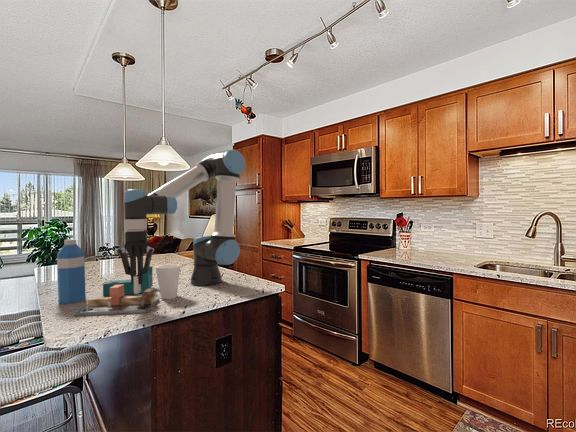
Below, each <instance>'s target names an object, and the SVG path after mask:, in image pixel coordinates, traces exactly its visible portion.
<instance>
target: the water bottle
mask: <svg viewBox="0 0 576 432" xmlns="http://www.w3.org/2000/svg"><path fill="white" fill-rule="evenodd" d="M63 241H64V243H63V246H62V247H61V248H60V250H59V251H58V252H57V254H56V263H57V292H58V293H57V295H58V299H57V301H58V303H59V304H64V305H65V304H73V303H79V302H82V301H84V300H86V299H87V298H86V294H87V293H86V271H85V269H86V267H85V266H86V265H85V263H86V262H85V251H84V250H83V249H82V248H81V247H80V246H79V245H78V243H77V239H75V238H71V239H64V240H63Z"/></svg>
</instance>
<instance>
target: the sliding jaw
mask: <svg viewBox="0 0 576 432" xmlns="http://www.w3.org/2000/svg"><path fill="white" fill-rule="evenodd" d="M108 297H109V298H107V301H108V308H111V305H119V304H120V297H125V294H124V284H121V285H114V286H112V287H110V295H109V296H108Z"/></svg>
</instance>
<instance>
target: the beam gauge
mask: <svg viewBox="0 0 576 432" xmlns="http://www.w3.org/2000/svg"><path fill="white" fill-rule="evenodd" d="M109 297H110V296H104V297H90V298H88V299H87V306H104V305H108V301H107V298H109ZM154 299H155V288H153V287H151V289H146V290H145V291H144V292H143V293H142V295H133V296H132V295H130V296H129V295H128V296H124V297H120V304H119V305H128V304H141V307H143V306H144V304H152V303H153V302H154Z"/></svg>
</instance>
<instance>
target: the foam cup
mask: <svg viewBox="0 0 576 432" xmlns="http://www.w3.org/2000/svg"><path fill="white" fill-rule="evenodd" d="M180 271H181V265H180V264H177V263H169V264H161V265H157V266H156V267H155V273H156V277H157V283H158V289H159V295H160V299H161V298H162V300H171V298H172V299H176V298H177V297H178V291H179V290H178V288H179V280H180V279H179V278H180Z"/></svg>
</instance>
